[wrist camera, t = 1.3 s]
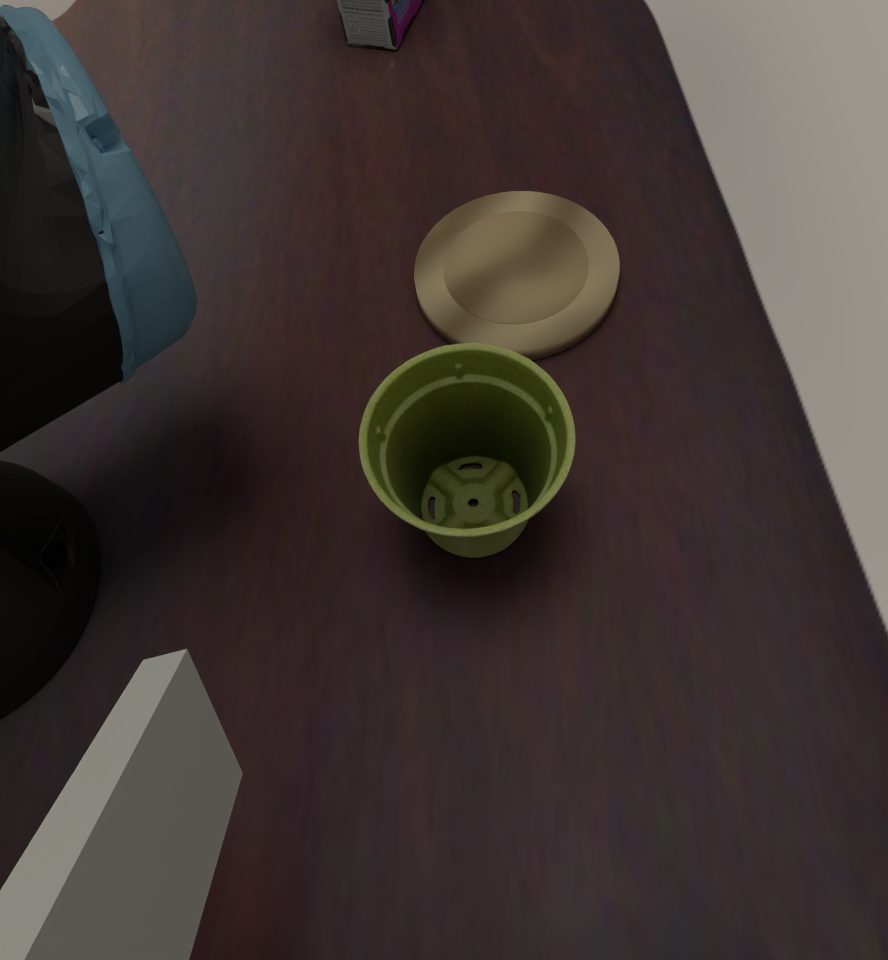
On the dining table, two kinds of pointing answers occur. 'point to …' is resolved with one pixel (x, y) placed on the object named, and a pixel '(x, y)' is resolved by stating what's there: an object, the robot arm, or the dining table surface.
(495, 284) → the plate
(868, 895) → the dining table surface
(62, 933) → the robot arm
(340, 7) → the candy bar box
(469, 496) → the plant pot
